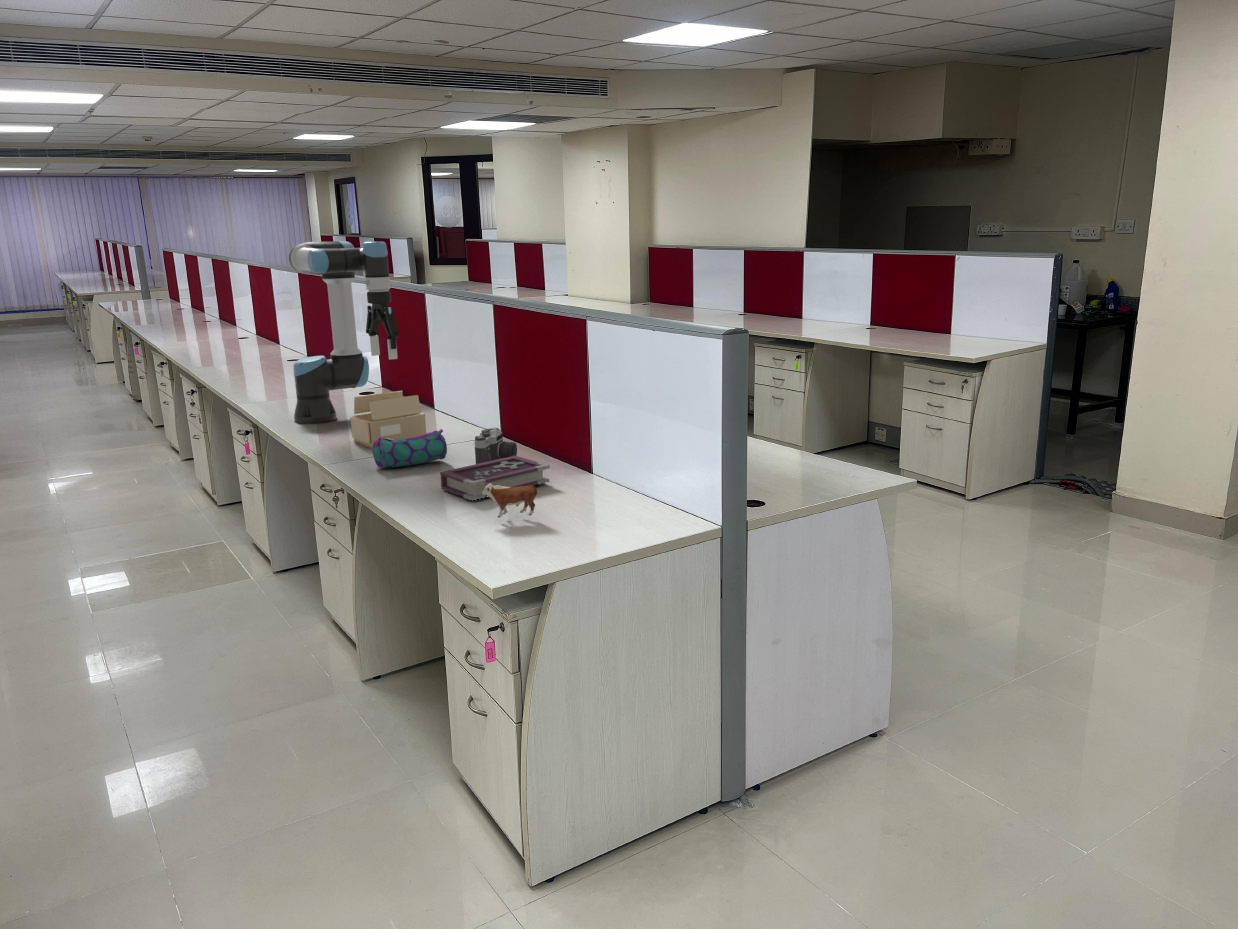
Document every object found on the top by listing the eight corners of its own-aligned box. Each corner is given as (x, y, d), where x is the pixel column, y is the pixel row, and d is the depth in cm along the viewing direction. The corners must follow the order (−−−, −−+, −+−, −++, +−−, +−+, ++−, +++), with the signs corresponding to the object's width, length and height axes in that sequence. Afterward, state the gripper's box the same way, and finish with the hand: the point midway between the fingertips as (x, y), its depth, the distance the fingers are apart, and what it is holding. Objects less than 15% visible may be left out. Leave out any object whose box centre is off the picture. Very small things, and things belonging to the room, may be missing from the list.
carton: (351, 442, 298) (349, 416, 295) (407, 432, 310) (405, 407, 308) (371, 450, 287) (368, 423, 284) (428, 439, 299) (426, 413, 297)
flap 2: (421, 412, 296) (417, 394, 295) (373, 420, 285) (369, 401, 285) (420, 412, 296) (417, 395, 296) (372, 420, 286) (368, 402, 285)
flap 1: (354, 413, 296) (354, 397, 294) (401, 406, 307) (401, 390, 304) (354, 414, 296) (354, 397, 293) (401, 407, 307) (402, 391, 304)
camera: (505, 469, 260) (503, 436, 258) (473, 468, 262) (471, 435, 260) (522, 456, 275) (520, 425, 272) (491, 455, 277) (489, 424, 274)
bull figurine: (483, 513, 220) (481, 481, 218) (538, 510, 221) (536, 479, 219) (482, 518, 216) (480, 486, 213) (538, 516, 217) (536, 484, 214)
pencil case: (381, 472, 260) (379, 440, 257) (373, 466, 267) (370, 435, 264) (449, 462, 270) (447, 431, 267) (439, 456, 277) (437, 426, 275)
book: (473, 501, 231) (472, 483, 230) (441, 489, 243) (439, 471, 242) (550, 482, 247) (549, 464, 246) (516, 471, 259) (515, 455, 258)
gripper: (351, 289, 293) (357, 355, 298) (384, 292, 275) (390, 362, 280) (372, 288, 297) (378, 352, 303) (406, 291, 280) (412, 359, 285)
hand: (384, 357), depth 292 cm, fingers open, 12 cm apart
